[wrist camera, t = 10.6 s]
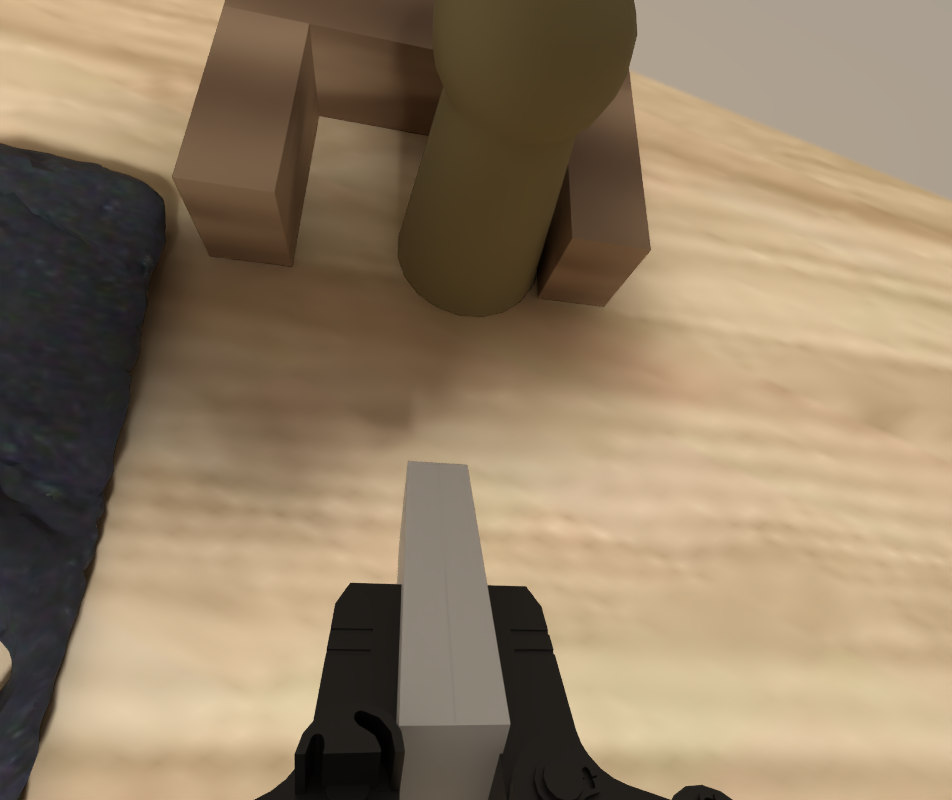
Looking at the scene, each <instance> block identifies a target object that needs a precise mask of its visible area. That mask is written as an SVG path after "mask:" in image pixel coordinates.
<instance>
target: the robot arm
mask: <svg viewBox="0 0 952 800" xmlns="http://www.w3.org/2000/svg"><path fill="white" fill-rule="evenodd" d="M255 800H670V799H667V798H664V797H661V796H658V795H655V794H652V793H649V792H646V791H643V790H641V789H638V788H635V787H632V786H629V785H627V784H625V783H622V782H620V781H618V780H616V779H614V778H613V777H611V776H610V775H609V774H607V773H606V772H605V771H603V770H602V769H601V768H600V767H599V766H598V765H597V764H596V763H595V762H594V761H593V759H592V758H591V757H590V756H589V755H588V753H587V752H586V750H585V749H584V747H583V746H582V744H581V742H580V739H579V737H578V734H577V732H576V729H575V725H574V721H573V718H572V714H571V711H570V707H569V704H568V700H567V697H566V693H565V689H564V686H563V682H562V679H561V675H560V672H559V668H558V664H557V661H556V657H555V655H554V654H553V647H552V643H551V639H550V636H549V635H548V629H547V625H546V622H545V618H544V614H543V611H542V607H541V606H540V604H539V603H538V602H537V600H536V599H535V598H534V596H533V595H532V594H531V592H530V591H529V590H528V589H527V587H525V586H491V585H487V580H486V574H485V568H484V562H483V556H482V550H481V544H480V538H479V532H478V526H477V520H476V514H475V508H474V502H473V496H472V490H471V484H470V478H469V472H468V466H467V465H462V464H447V463H432V462H417V461H408V463H407V473H406V483H405V493H404V502H403V512H402V522H401V532H400V541H399V556H398V576H397V584H371V583H350V584H349V585H348V587H347V588H346V590H345V591H344V592H343V594H342V595H341V596H340V598H339V599H338V601H337V602H336V603H335V608H334V614H333V619H332V624H331V631H330V635H329V640H328V646H327V653H326V657H325V662H324V667H323V673H322V678H321V683H320V689H319V694H318V699H317V705H316V710H315V715H314V721H313V722H312V723H311V724H310V726H309V727H308V728H307V729H306V730H305V731H304V732H303V734H302V737H301V739H300V742H299V744H298V747H297V749H296V752H295V769H294V771H293V772H292V773H291V774H290V775H289V776H288V777H287V779H286V780H284V781H283V782H282V783H281V784H279V785H278V786H277V787H276V788H274V789H273V790H272V791H270V792H268V793H266V794H264V795H262V796H261V797H259V798H257V799H255ZM672 800H732V799H731V798H729V797H728V796H726V795H725V794H724V793H722V792H721V791H718V790H715V789H712V788H709V787H706V786H703V785H696V786H685V787H684V788H683V789H682V790H680V791H679V792H678V793H676V794H675V795H674V796H673V798H672Z"/></svg>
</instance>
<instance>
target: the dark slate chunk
mask: <svg viewBox="0 0 952 800" xmlns="http://www.w3.org/2000/svg"><path fill="white" fill-rule="evenodd" d="M165 228H166V225H165V205H164V200H163V198H162V197H161V196H160V195H159V194H158V193H157V192H156V191H154V190H153V189H152V188H151V187H150V186H148V185H147V184H146V183H144V182H143V181H141V180H138V179H136V178H134V177H131V176H129V175H126V174H122V173H119V172H115V171H111V170H109V169H107V168H104V167H102V166H101V165H99V164H95V163H88V162H79V161H74V160H71V159H67V158H63V157H59V156H55V155H53V154H49V153H43V152H37V151H31V150H25V149H19V148H15V147H11V146H8V145H5V144H1V143H0V641H1V642H2V643H3V645H4V646H5V647H6V648H7V649H8V651H9V653H10V656H11V659H12V671H11V676H10V679H9V681H8V682H7V683H6V685H5V686H4V687H3V688H2V689H1V691H0V800H20V795H21V792H22V790H23V788H24V786H25V784H26V782H27V780H28V777H29V775H30V773H31V770H32V767H33V765H34V762H35V759H36V757H37V754H38V748H39V729H40V723H41V721H42V718H43V716H44V713H45V711H46V709H47V707H48V705H49V702H50V699H51V696H52V692H53V687H54V682H55V678H56V675H57V672H58V670H59V667H60V665H61V662H62V659H63V656H64V653H65V649H66V645H67V641H68V637H69V634H70V631H71V628H72V625H73V623H74V620H75V618H76V615H77V612H78V609H79V606H80V603H81V600H82V598H83V595H84V593H85V589H86V579H85V576H84V572H85V570H86V569H87V567H88V566H89V564H90V563H91V561H92V559H93V557H94V555H95V548H96V541H97V539H98V530H97V527H96V526H97V523H98V521H99V519H100V517H101V516H102V514H103V512H104V511H105V498H104V490H105V487H106V485H107V483H108V481H109V479H110V478H111V476H112V474H113V472H114V467H113V455H114V451H115V446H116V442H117V438H118V435H119V432H120V430H121V428H122V425H123V423H124V420H125V417H126V412H127V408H128V405H129V403H130V384H131V381H132V377H131V376H130V375H129V372H130V371H131V369H132V368H133V366H134V365H135V363H136V361H137V359H138V355H139V350H140V338H141V331H140V329H141V326H142V324H143V321H144V315H145V311H146V308H147V292H148V288H149V284H150V277H151V275H152V273H153V271H154V269H155V267H156V266H157V264H158V261H159V259H160V256H161V253H162V250H163V247H164V245H165V241H166V236H165Z"/></svg>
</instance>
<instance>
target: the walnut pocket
mask: <svg viewBox="0 0 952 800" xmlns="http://www.w3.org/2000/svg"><path fill="white" fill-rule="evenodd" d="M434 2H435V0H225V3H224V6H223V9H222V13H221V16H220V19H219V23H218V26H217V29H216V33H215V36H214V39H213V43H212V46H211V49H210V53H209V56H208V59H207V63H206V66H205V69H204V73H203V76H202V79H201V82H200V86H199V89H198V92H197V96H196V99H195V102H194V106H193V109H192V112H191V116H190V119H189V122H188V126H187V129H186V132H185V136H184V139H183V142H182V146H181V149H180V152H179V156H178V159H177V162H176V165H175V169H174V172H173V175H172V178H173V180H174V182H175V184H176V187H177V189H178V191H179V193H180V195H181V197H182V199H183V201H184V203H185V205H186V207H187V209H188V212H189V214H190V216H191V218H192V220H193V222H194V224H195V226H196V228H197V230H198V232H199V234H200V237H201V239H202V241H203V243H204V245H205V247H206V249H207V251H208V253H209V255H210V256H215V257H223V258H231V259H238V260H246V261H254V262H262V263H269V264H277V265H285V266H292V264H293V259H294V253H295V247H296V242H297V236H298V231H299V225H300V219H301V214H302V208H303V203H304V197H305V192H306V186H307V180H308V175H309V169H310V164H311V158H312V152H313V147H314V141H315V136H316V130H317V125H318V119H319V116H324V117H329V118H335V119H340V120H346V121H351V122H357V123H362V124H368V125H374V126H379V127H385V128H390V129H396V130H401V131H407V132H412V133H418V134H424V135H429V133H430V130H431V126H432V123H433V120H434V116H435V113H436V109H437V106H438V103H439V99H440V96H441V93H442V89H443V84H442V82H441V79H440V77H439V74H438V72H437V69H436V67H435V60H434V53H433V45H432V34H433V13H434ZM650 250H651V247H650V239H649V231H648V223H647V214H646V206H645V198H644V189H643V181H642V173H641V165H640V156H639V148H638V140H637V131H636V123H635V115H634V107H633V98H632V90H631V82H630V73H629V69H628V72H627V76H626V78H625V80H624V82H623V84H622V86H621V88H620V90H619V92H618V94H617V96H616V97H615V99H614V100H613V101H612V102H611V103H610V104H609V106H608V107H607V108H606V109H605V110H604V111H603V112H602V114H601V115H600V116H599V117H598V118H597V119H596V120H595V121H594V122H593V124H592V125H591V126H590V127H589V128H588V129H586V130H584V131H582V132H580V133H578V134H577V136H576V139H575V142H574V146H573V149H572V153H571V156H570V159H569V163H568V166H567V169H566V173H565V176H564V180H563V183H562V186H561V190H560V193H559V196H558V200H557V203H556V206H555V210H554V213H553V217H552V220H551V223H550V227H549V230H548V233H547V237H546V240H545V243H544V247H543V250H542V254H541V257H540V260H539V264H538V267H537V291H538V298H541V299H549V300H556V301H564V302H572V303H580V304H587V305H595V306H603V307H604V306H605V305H606V303H607V302H608V301H609V300H610V299H611V297H612V296H613V295H614V294H615V293H616V291H617V290H618V289H619V288H620V287H621V285H622V284H623V283H624V282H625V280H626V279H627V278H628V277H629V276H630V274H631V273H632V272H633V271H634V270H635V268H636V267H637V266H638V265H639V264H640V262H641V261H642V260H643V259H644V258H645V256H646V255H647V254H648V253H649V252H650Z"/></svg>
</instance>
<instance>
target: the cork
mask: <svg viewBox="0 0 952 800" xmlns="http://www.w3.org/2000/svg"><path fill="white" fill-rule="evenodd" d="M636 37H637V24H636V10H635V4H634V0H435V2H434V13H433V34H432V45H433V53H434V60H435V67H436V69H437V72H438V74H439V77H440V79H441V82H442V84H443V89H442V93H441V96H440V99H439V103H438V106H437V109H436V113H435V116H434V120H433V123H432V126H431V130H430V133H429V136H428V140H427V143H426V147H425V150H424V153H423V157H422V160H421V163H420V167H419V170H418V174H417V177H416V180H415V184H414V187H413V190H412V194H411V197H410V201H409V204H408V207H407V211H406V214H405V217H404V221H403V224H402V228H401V231H400V234H399V240H398V258H399V261H400V264H401V267H402V270H403V273H404V276H405V277H406V279H407V280H408V281H409V282H410V284H411V285H412V286H413V288H414V289H415V290H416V292H417V293H418V294H419V295H421V296H422V297H424V298H425V299H426V300H428V301H429V302H430V303H432V304H433V305H435V306H436V307H438V308H441V309H444V310H446V311H449V312H452V313H454V314H457V315H465V316H478V317H483V316H487V315H492V314H497V313H501V312H504V311H505V310H507V309H509V308H510V307H512V306H514V305H515V304H517V303H519V302H520V301H521V300H522V298H523V297H524V296H525V295H526V293H527V292H528V291H529V290H530V288H531V287H532V283H533V280H534V277H535V274H536V270H537V267H538V264H539V260H540V257H541V254H542V250H543V247H544V243H545V240H546V237H547V233H548V230H549V227H550V223H551V220H552V217H553V213H554V210H555V206H556V203H557V200H558V196H559V193H560V190H561V186H562V183H563V180H564V176H565V173H566V169H567V166H568V163H569V159H570V156H571V153H572V149H573V146H574V142H575V139H576V136H577V134H578V133H580V132H582V131H584V130H586V129H588V128H589V127H590V126H591V125H592V124H593V122H594V121H595V120H596V119H597V118H598V117H599V116H600V115H601V114H602V112H603V111H604V110H605V109H606V108H607V107H608V106H609V104H610V103H611V102H612V101H613V100H614V99H615V97H616V96H617V94H618V92H619V90H620V88H621V86H622V84H623V82H624V80H625V78H626V76H627V72H628V69H629V65H630V61H631V57H632V54H633V49H634V45H635V41H636Z"/></svg>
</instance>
